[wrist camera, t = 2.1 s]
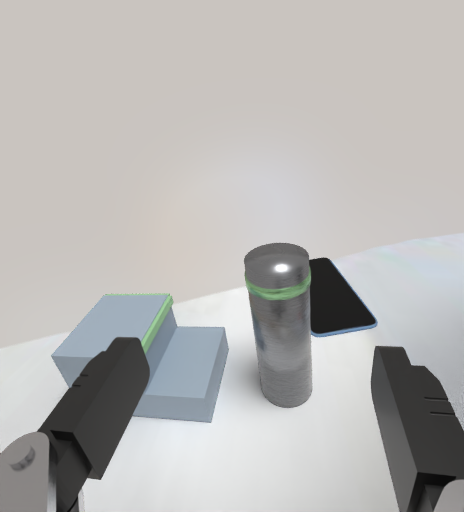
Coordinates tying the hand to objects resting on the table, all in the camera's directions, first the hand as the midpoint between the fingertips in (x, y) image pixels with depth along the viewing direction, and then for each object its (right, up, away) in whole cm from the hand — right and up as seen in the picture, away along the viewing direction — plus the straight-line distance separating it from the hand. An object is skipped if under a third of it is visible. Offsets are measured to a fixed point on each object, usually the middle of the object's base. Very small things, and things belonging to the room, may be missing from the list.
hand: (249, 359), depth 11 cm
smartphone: (+11, -1, +28) cm, 30 cm away
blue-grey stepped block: (-7, -8, +20) cm, 23 cm away
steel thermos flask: (+4, -8, +17) cm, 19 cm away
